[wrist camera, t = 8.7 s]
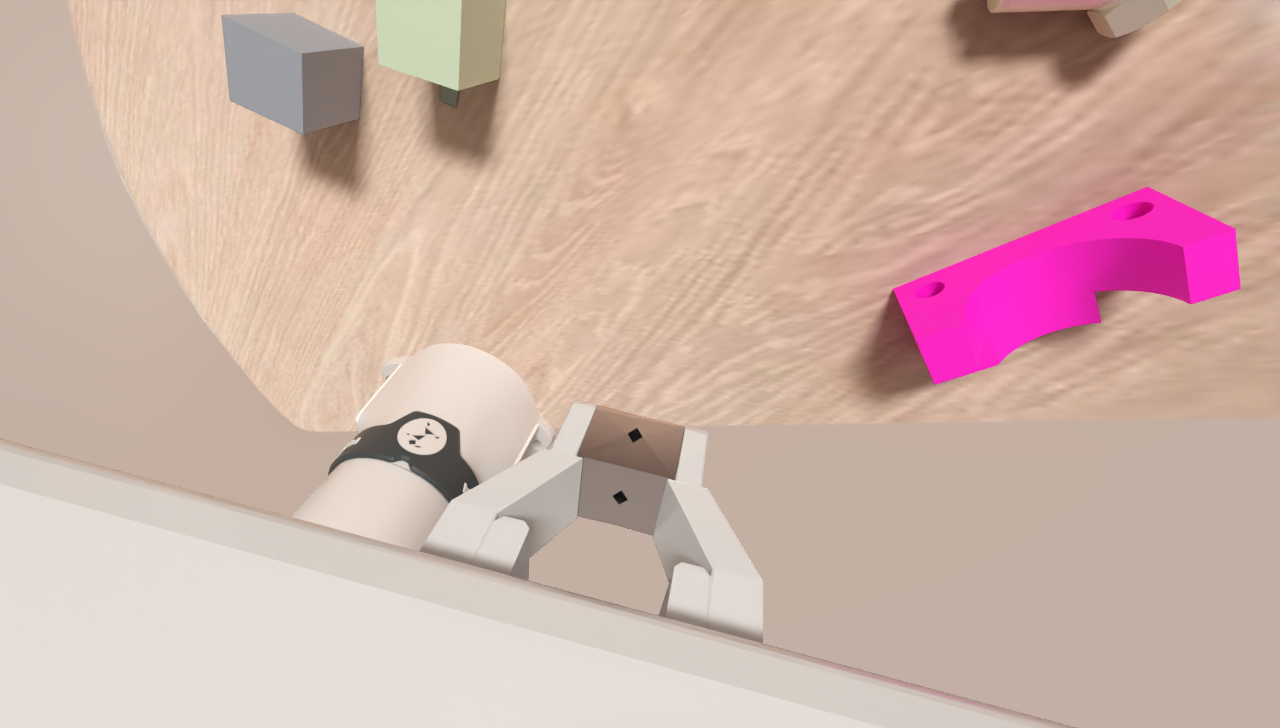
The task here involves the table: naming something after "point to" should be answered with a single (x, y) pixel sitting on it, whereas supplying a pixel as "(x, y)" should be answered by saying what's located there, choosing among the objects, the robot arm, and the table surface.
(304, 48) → the slate block
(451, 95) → the small gray-green block
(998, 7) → the pipe fitting
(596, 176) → the table surface
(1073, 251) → the magenta curved bracket
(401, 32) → the sage block
